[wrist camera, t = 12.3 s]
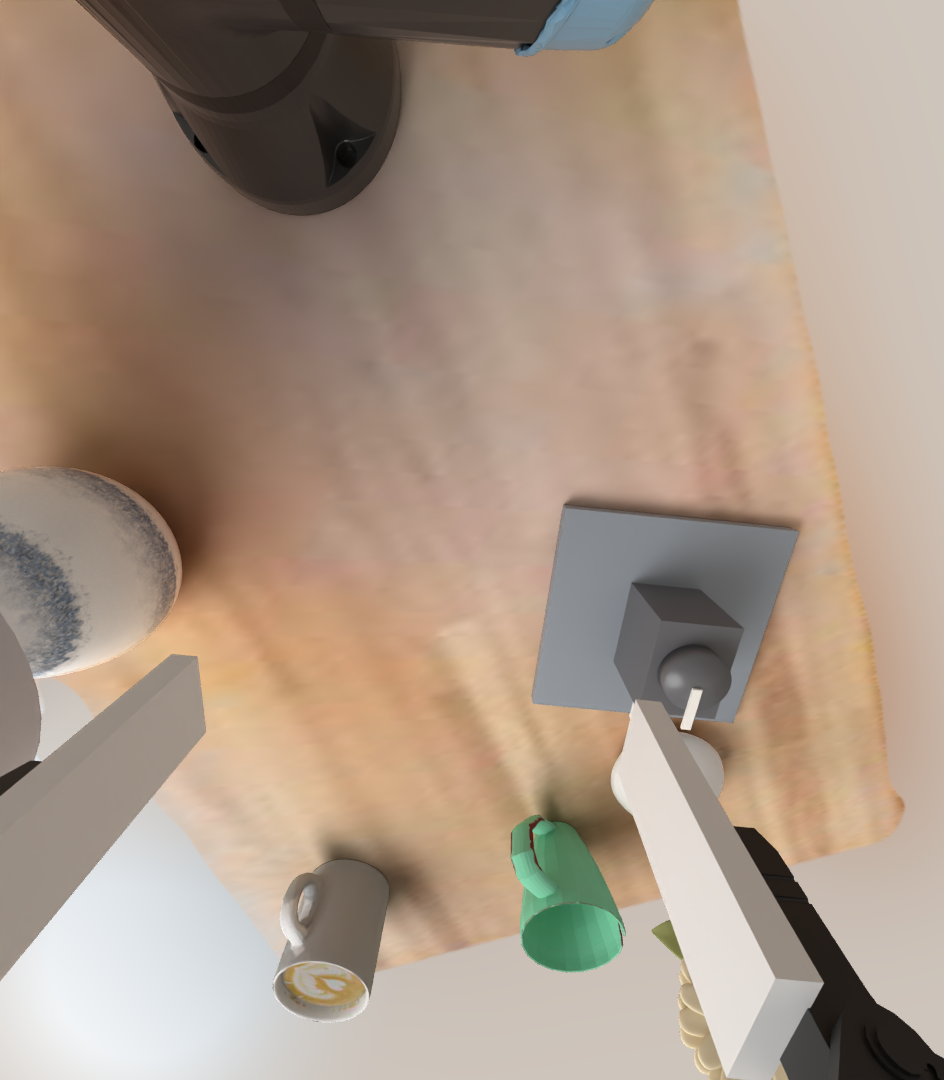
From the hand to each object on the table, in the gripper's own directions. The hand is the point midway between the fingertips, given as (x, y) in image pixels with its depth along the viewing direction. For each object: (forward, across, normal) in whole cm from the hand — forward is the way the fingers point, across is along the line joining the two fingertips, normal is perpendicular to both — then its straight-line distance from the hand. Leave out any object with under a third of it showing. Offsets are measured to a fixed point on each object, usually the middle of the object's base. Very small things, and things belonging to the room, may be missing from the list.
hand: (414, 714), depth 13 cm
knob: (+26, +19, -9) cm, 33 cm away
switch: (+27, +19, -9) cm, 34 cm away
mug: (+27, +13, -36) cm, 47 cm away
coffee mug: (+27, -10, -48) cm, 56 cm away
